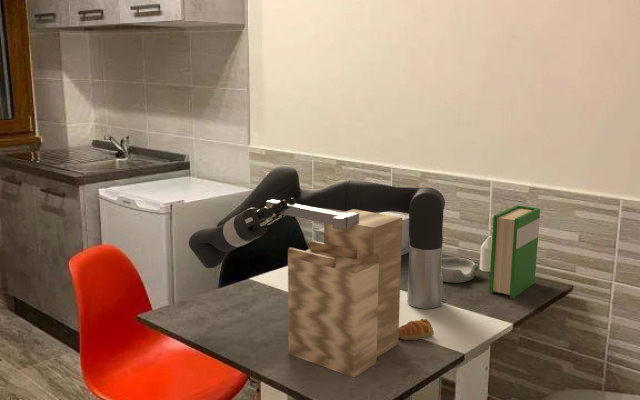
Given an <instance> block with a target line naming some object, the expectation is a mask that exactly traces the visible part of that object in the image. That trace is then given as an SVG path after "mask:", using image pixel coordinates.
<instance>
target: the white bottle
mask: <svg viewBox="0 0 640 400" xmlns="http://www.w3.org/2000/svg"><path fill="white" fill-rule="evenodd" d="M491 250H492V235H490V236H488V237H487V238H486V240H485V241H484V242H483V243H482V244H481V246H480V258H479V270H480V271H482V272H484V273H485V272H486V273H490V266H491Z"/></svg>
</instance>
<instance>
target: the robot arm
mask: <svg viewBox="0 0 640 400" xmlns="http://www.w3.org/2000/svg"><path fill="white" fill-rule="evenodd" d="M299 176H300V175H299V173H298V171H297V169H296V168H295V167H294V166H291V165H285V164H284V165H280V166H277V167H275V168H273V169H271V170H270V171H269V173H267V175H265V176H264V177H263V179H262V180H261V182H259V184H258V185H257V186H256V187H255V188H253V190H252V192H251V193H250V194H249V195H248V196H247V197H246V198H245V200H244V201H243V202H241V203H240V204H239V205H238V206H237V207H236V208H235V209H234V210H232V211H231V212H230V213H228V214H227V215H226V216H225V217H223V219H221V220H220V221H219V222H218V223H217V225H216V226H215V227H209V228H202V229H199V230H197V231H195V232H194V233H193V234H192V235H190V237H189V240H188V246H189V249H190V250H191V251H192V253H194V255H195V256H196V257H197V259H198V260H199V262H200V263H201V265H203V267H205V268H206V269H214V268H217V267H218V266H220V265H221V263H223V262H224V260H225V259H226V257H227V255H228V254H229V252H232V251H233V250H236V249H237V248H239V247H242V246H245V245H246V244H249V243H251V242H252V241H254V240H257V239H258V238H260V237H262V236H264V235H265V234H266V232H267V230H268V226H269V225H271V224H274V223H275V221H277V220H279V219H281V218H285V217H286V216H287V215H283V214H278V213H280V212H282V211H284V210H286V209H287V208H288V205H287V202H288V203H293V204H299V205H304V206H309V207H314V208H319V209H324V210H331V211H341V212H346V211H350V210H353V209H355V210H361V211H367V212H373V213H378V214H379V213H382V212H392V213H401V214H402V213H403V214H406V215H408V216H409V253H408V273H407V293H406V294H407V304H408V305H409V306H411V307H413V308H416V309H417V308H418V309H434V308H437V307H442V306H443V284H444V281H443V274H442V272H441V265H442V258H443V242H444V240H443V239H444V237H443V232H444V231H443V227H444V225H443V224H444V211H445V207H446V206H445V205H446V200H445V198H444V197H445V196H444V195H443V194H442V193H441V191H439V190H437V189H436V188H434V187H428V186H426V187H425V186H424V187H408V186H406V187H403V186H402V187H401V186H393V185H388V184H384V183H377V182H376V183H375V182H369V181H363V180H355V179H342V180H337V181H335V182H333V183H331V184H328V185H326V186H324V187H321V188H305V187H301V186H300V184H301V183H300V177H299ZM269 200H278V201H280V202H278V203H276V204H275V205H270V206H269V207H266V201H269Z"/></svg>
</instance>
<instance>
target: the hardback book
mask: <svg viewBox="0 0 640 400" xmlns="http://www.w3.org/2000/svg"><path fill="white" fill-rule="evenodd" d="M540 217H541V208H538V207H531V206H524V205H517V204H516V205H514V206H512V207H510V208H507V209H506V210H503V211H501V212H498V213H496V214H493V218H492V250H491V266H490V272H489V273H490V274H489V283H488V284H489V285H488V294H494V293H495V292H496V293H500V294H504V295H508V296H509V298H510V299H514V298H515V297H516V296H518V295H519V294H521V293H523V292H525V290H527V289H528V288H530V287H531V286H533V285H534V284H535V283H536V267H537V257H538V256H537V255H538V245H539V244H538V243H539V233H540V232H539V231H540Z"/></svg>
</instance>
